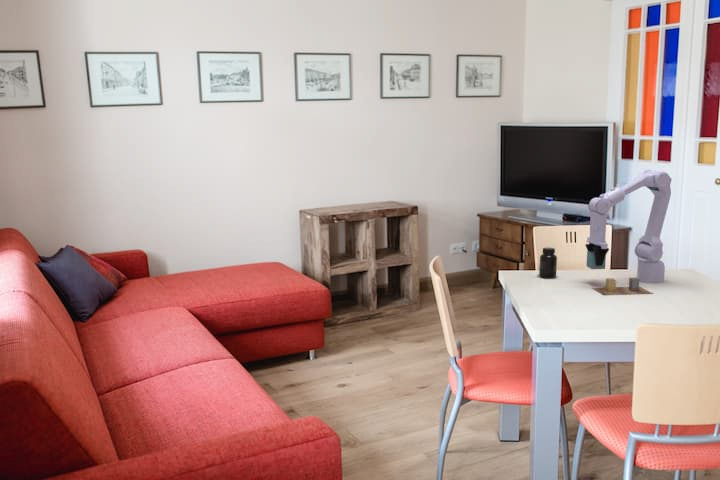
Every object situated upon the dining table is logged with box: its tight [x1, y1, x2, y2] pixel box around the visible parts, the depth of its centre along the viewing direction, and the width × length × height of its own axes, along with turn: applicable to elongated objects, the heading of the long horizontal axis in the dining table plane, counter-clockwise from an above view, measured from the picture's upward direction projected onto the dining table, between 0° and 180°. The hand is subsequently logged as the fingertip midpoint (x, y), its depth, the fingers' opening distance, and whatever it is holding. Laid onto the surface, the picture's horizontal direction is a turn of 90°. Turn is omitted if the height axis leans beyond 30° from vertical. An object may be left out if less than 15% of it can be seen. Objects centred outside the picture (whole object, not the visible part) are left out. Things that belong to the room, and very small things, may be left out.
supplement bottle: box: [538, 247, 558, 279], centre depth 273 cm, size 7×7×12 cm
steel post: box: [628, 277, 640, 291], centre depth 247 cm, size 3×3×5 cm
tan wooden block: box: [605, 277, 617, 292], centre depth 247 cm, size 3×3×5 cm
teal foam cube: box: [586, 250, 607, 270], centre depth 256 cm, size 5×5×6 cm
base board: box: [591, 285, 654, 296], centre depth 248 cm, size 19×11×1 cm, turn 94°
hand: (596, 263), depth 256 cm, fingers closed on teal foam cube, 5 cm apart
